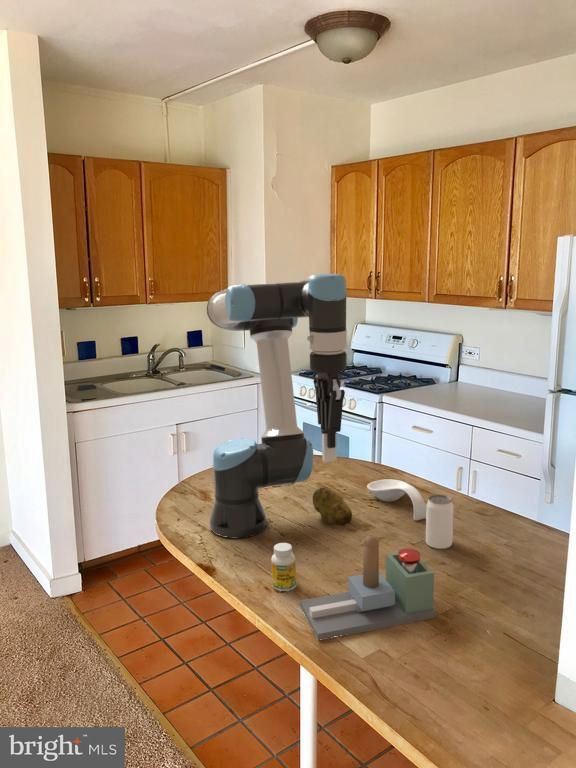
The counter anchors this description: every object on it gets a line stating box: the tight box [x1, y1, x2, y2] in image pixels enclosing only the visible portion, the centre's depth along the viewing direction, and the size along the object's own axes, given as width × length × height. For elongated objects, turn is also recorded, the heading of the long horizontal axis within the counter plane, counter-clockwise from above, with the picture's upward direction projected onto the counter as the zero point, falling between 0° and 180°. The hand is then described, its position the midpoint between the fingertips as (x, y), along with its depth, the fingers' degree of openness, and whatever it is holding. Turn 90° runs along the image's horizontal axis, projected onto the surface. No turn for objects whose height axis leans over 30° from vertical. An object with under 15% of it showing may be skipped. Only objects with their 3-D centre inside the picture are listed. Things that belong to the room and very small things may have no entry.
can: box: [425, 494, 454, 550], centre depth 157 cm, size 6×6×12 cm
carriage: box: [347, 534, 395, 612], centre depth 129 cm, size 8×7×15 cm
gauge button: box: [398, 547, 421, 574], centre depth 131 cm, size 4×4×9 cm
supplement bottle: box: [270, 542, 297, 592], centre depth 140 cm, size 5×5×10 cm
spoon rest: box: [366, 478, 427, 522], centre depth 182 cm, size 24×12×7 cm, turn 24°
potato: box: [312, 486, 353, 526], centre depth 173 cm, size 8×13×8 cm, turn 18°
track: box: [299, 551, 436, 641], centre depth 129 cm, size 12×25×10 cm, turn 105°
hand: (329, 460), depth 134 cm, fingers closed
